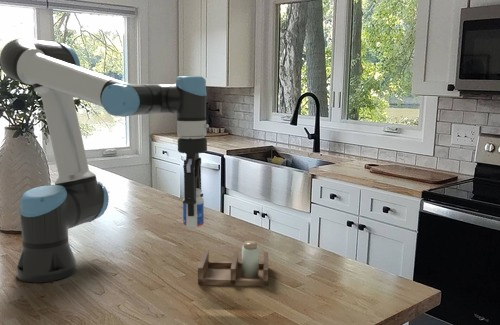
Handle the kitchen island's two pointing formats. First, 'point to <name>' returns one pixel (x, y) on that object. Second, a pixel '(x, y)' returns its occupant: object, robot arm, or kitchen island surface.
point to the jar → (250, 260)
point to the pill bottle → (199, 209)
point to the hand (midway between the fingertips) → (193, 224)
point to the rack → (229, 272)
